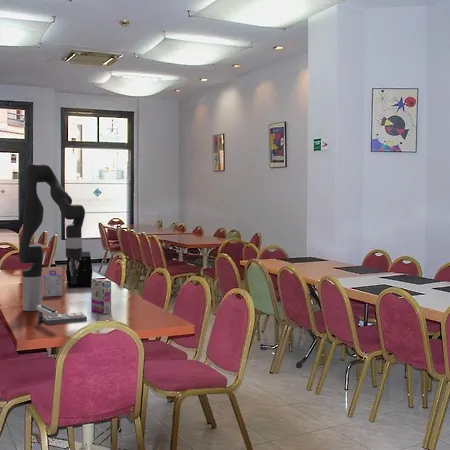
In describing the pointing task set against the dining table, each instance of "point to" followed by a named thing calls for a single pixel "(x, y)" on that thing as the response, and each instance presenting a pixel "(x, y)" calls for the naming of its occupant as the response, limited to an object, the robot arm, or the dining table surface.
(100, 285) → the candy bar box
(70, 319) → the label panel
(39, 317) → the pivot post
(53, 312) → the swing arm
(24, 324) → the dining table surface
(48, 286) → the ink cartridge box
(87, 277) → the uninterruptible power supply
